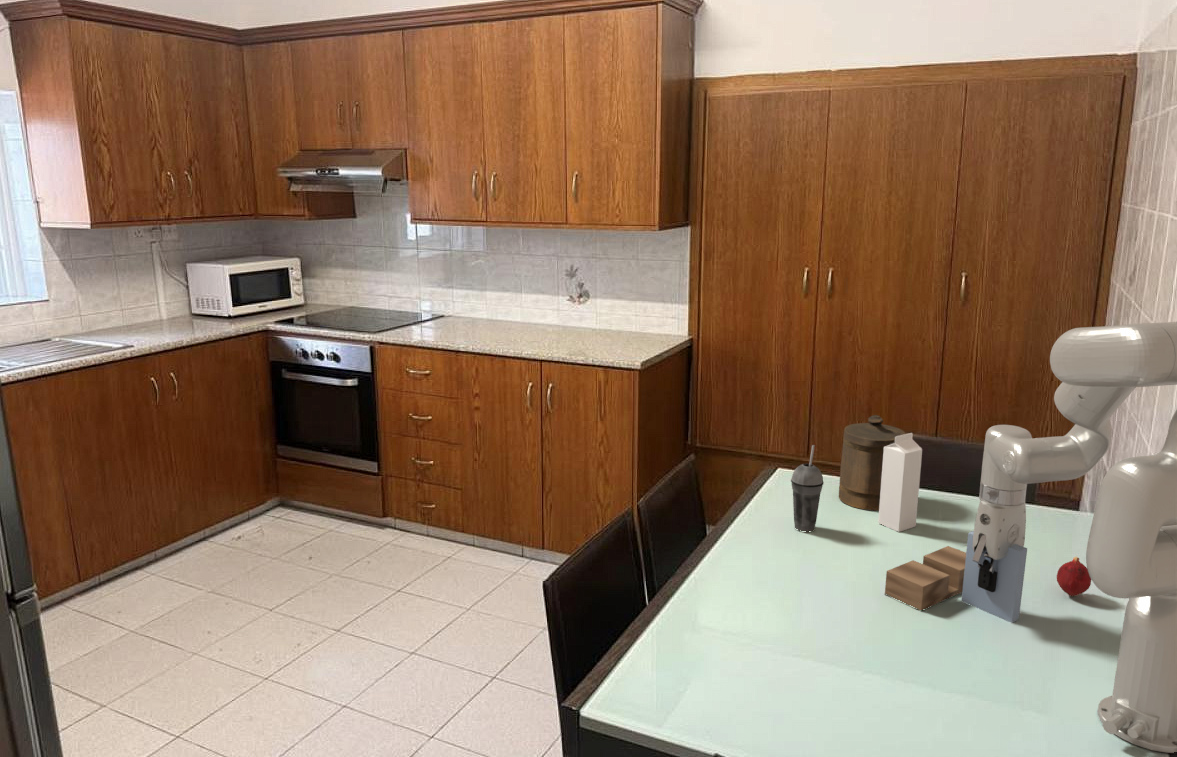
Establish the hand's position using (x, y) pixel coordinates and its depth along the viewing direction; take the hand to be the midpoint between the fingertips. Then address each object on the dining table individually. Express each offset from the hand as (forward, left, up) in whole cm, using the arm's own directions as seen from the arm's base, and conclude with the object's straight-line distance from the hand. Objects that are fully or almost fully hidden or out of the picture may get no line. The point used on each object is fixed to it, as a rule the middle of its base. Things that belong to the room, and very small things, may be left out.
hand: (992, 585), depth 159 cm
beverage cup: (+1, +46, -5) cm, 46 cm away
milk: (+20, +35, -5) cm, 41 cm away
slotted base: (-1, +11, -5) cm, 12 cm away
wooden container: (+28, +49, -5) cm, 57 cm away
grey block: (0, 0, -5) cm, 5 cm away
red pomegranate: (+18, -6, -5) cm, 20 cm away
